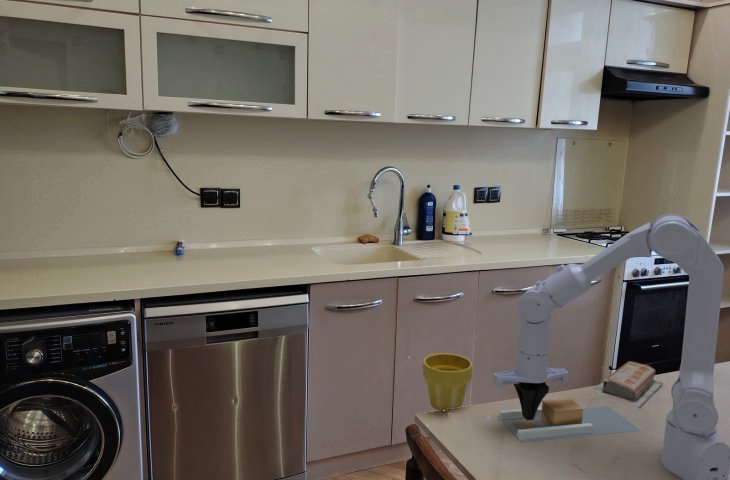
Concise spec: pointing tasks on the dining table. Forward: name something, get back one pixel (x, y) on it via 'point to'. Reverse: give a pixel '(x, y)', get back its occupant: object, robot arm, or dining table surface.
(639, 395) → the packaged product
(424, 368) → the plant pot
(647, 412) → the dining table surface
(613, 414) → the channel
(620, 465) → the dining table surface
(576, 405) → the block
